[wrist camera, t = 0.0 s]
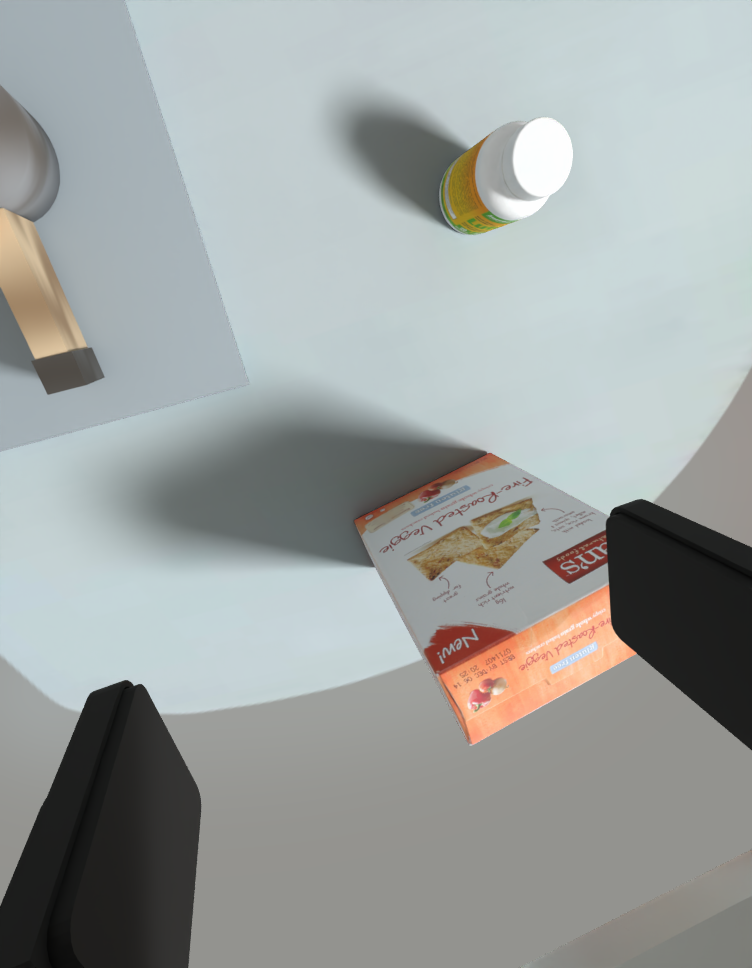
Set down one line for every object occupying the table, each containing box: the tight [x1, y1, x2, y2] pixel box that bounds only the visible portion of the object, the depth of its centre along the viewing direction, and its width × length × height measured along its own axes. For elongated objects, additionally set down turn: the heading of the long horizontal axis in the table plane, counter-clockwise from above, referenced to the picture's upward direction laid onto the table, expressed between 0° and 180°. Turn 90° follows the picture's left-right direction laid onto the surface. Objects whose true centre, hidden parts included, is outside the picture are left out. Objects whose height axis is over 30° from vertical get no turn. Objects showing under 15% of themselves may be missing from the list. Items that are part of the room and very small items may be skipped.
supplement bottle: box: [439, 117, 573, 235], centre depth 32 cm, size 5×5×10 cm
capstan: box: [0, 85, 105, 395], centre depth 27 cm, size 16×7×6 cm, turn 13°
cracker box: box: [354, 453, 636, 745], centre depth 35 cm, size 14×6×21 cm, turn 113°
